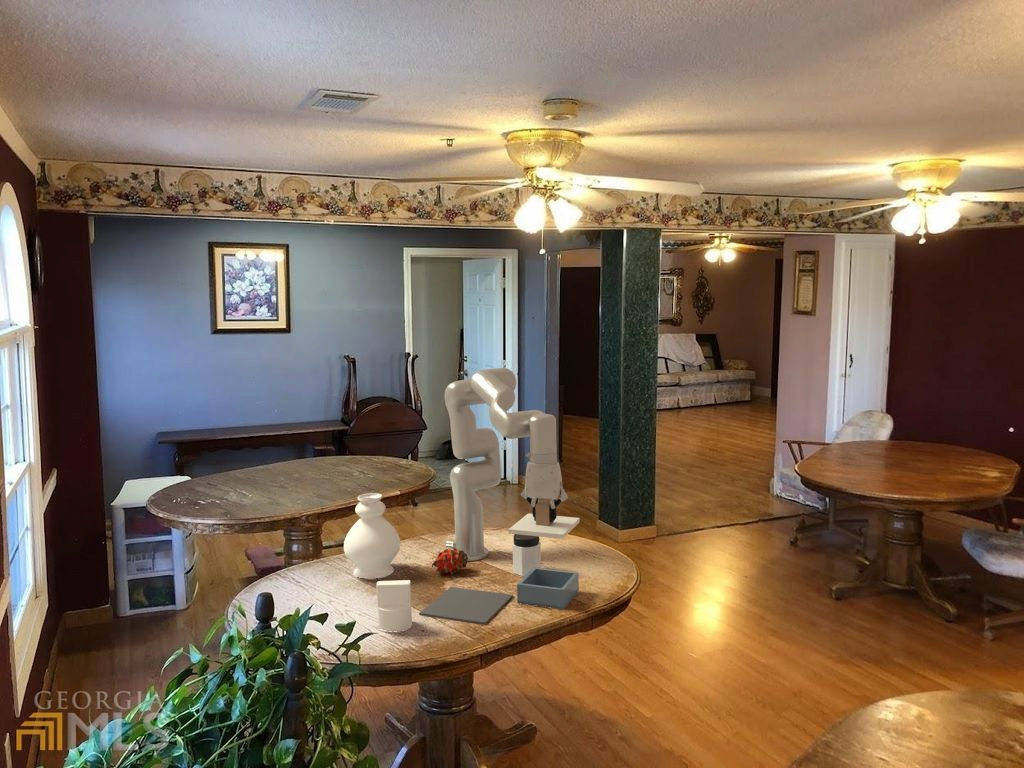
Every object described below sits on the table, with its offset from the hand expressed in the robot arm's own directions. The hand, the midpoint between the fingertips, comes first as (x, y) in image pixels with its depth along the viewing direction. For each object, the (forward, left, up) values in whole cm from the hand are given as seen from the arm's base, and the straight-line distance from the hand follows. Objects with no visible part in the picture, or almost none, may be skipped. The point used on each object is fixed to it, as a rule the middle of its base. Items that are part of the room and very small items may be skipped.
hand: (544, 519), depth 226 cm
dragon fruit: (-35, +9, -23) cm, 43 cm away
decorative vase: (-59, +2, -23) cm, 64 cm away
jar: (-12, +17, -23) cm, 32 cm away
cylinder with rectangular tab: (-32, -31, -23) cm, 50 cm away
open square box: (+1, 0, -23) cm, 23 cm away
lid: (0, 0, -2) cm, 2 cm away
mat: (-19, -13, -23) cm, 33 cm away
